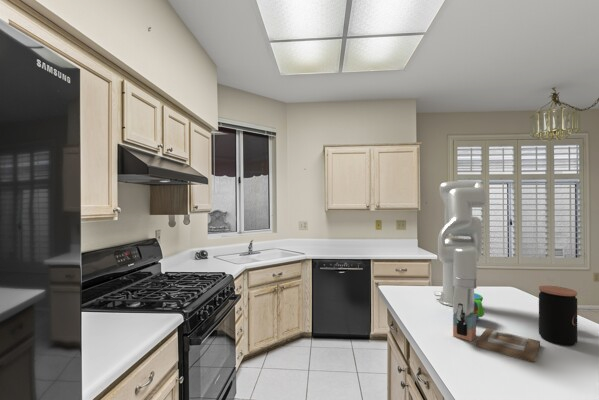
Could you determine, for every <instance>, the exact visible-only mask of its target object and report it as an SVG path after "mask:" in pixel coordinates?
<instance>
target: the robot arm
mask: <svg viewBox="0 0 599 400" xmlns="http://www.w3.org/2000/svg"><path fill="white" fill-rule="evenodd" d="M438 190H439V196H440V198H441V200H442V202H443V205H444V226H443V227H442V228H441V229H440V231H439V234H438V235H437V256H438V259H439V261H440V262H441V263H442V291H436V290H434V293H433V294H434V296H435V297H439V300H438V301H439V303H441V305H444V306H448V307H452V313H453V314H456V313H457V316H456V317H457V334H460V335H463V336H467V324H466V317H467V316H469V315H470V314H471V313H472V312H473V311H474V293H475V289H477V288H478V287H477V286H478V285H477V283H478V282H477V281H478V280H477V279H478V277H477V275H478V273H477V272H478V269H477V268H478V267H477V266H478V265H477V263H478V262H479V260H480V258H481V256H482V253H483V222H482V220H481V218H480V217H478V216H473V215H472V208H475V209H476V208H479V209H480V208H481V209H482V208H484V207H486V205H487V202H488V195H487V191H486V189H485V187H484V186H483V183H481V182H480V181H477V180H475V181H473V180H472V181H471V180H470V181H468V180H467V181H465V180H464V181H462V180H461V181H459V180H457V181H445V182H441V184H440V185H439V189H438ZM447 236H455V237H447ZM462 237H470V238H462ZM462 313H464V314H465V315H462ZM462 317H464V319H463V318H462Z"/></svg>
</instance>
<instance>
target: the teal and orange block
mask: <svg viewBox="0 0 599 400" xmlns="http://www.w3.org/2000/svg"><path fill="white" fill-rule="evenodd" d="M452 315H453V317H452V323H453V324H452V326H453V327H452V333H453V334H452V337H453V338H454V337H455V338H458V339H461V340H462V339H463V340H466V341H469V342H472V341H473V340H474V339H475V338H476V337H477V321H476V314H474V313H471V314H470V315H469V316H467V317H466V324H467V336H463V335H460V334H457V317H456V316H457V313H456V314H454V313H453V314H452ZM462 315H465V314H464V313H462ZM462 318H463V319H464V317H462Z"/></svg>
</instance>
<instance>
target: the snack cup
mask: <svg viewBox="0 0 599 400" xmlns="http://www.w3.org/2000/svg"><path fill="white" fill-rule="evenodd" d="M483 299H484V297H483V296H482V295H481V294H479V293H475V292H474V311H473V312H472V313H474V314H476V322H477V321H478V320H479V319H480V318H482V317H484V316H485V311H484V310H485V309H484V307H483V303H482V301H483Z"/></svg>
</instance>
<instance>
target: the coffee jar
mask: <svg viewBox="0 0 599 400" xmlns="http://www.w3.org/2000/svg"><path fill="white" fill-rule="evenodd" d="M538 291H539V293H538V335H539V337H540V338H541V339H542V340H544V341H546V342H549V343H552V344H555V345H559V346H565V347H571V346H572V347H573V346H575V345H576V344H577V343H578V297H577V296H578V291H577V290H574V289H572V288H567V287H562V286H559V285H558V286H555V285H539V287H538Z"/></svg>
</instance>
